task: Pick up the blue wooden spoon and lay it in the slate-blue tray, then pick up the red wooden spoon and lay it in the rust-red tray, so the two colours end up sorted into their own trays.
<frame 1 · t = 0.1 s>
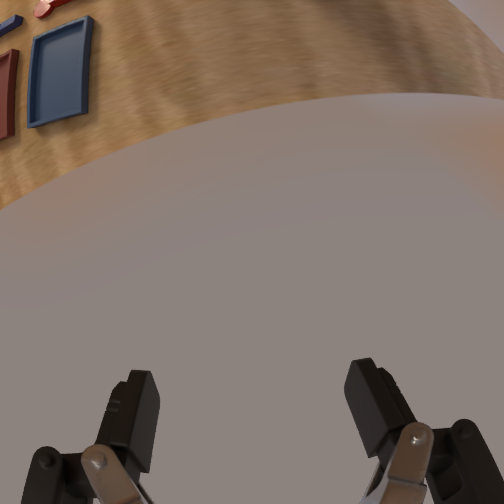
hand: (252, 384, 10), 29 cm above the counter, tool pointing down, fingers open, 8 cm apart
blue spoon: (1, 33, 21), on the counter
blue tray: (60, 72, 27), on the counter
red spoon: (60, 2, 21), on the counter
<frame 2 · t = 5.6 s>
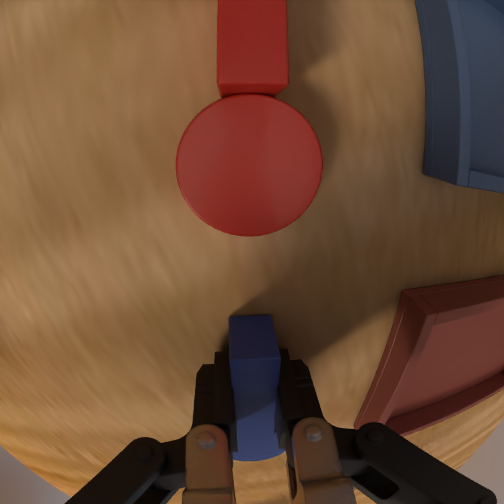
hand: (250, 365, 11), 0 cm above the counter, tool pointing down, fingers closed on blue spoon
blue spoon: (251, 402, 13), on the counter, touching gripper
red tray: (471, 346, 13), on the counter
red spoon: (247, 68, 7), on the counter
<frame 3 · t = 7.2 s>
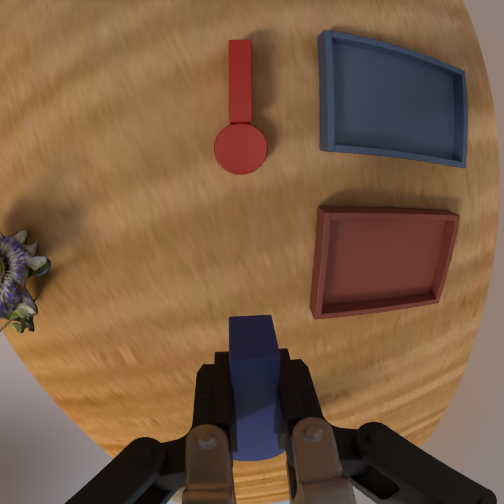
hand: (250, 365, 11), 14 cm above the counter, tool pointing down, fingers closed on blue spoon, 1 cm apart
blue spoon: (251, 402, 13), point 14 cm above the counter, touching gripper
blue tray: (398, 102, 20), on the counter
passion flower: (28, 269, 24), on the counter
red tray: (385, 257, 26), on the counter
red spoon: (239, 111, 20), on the counter
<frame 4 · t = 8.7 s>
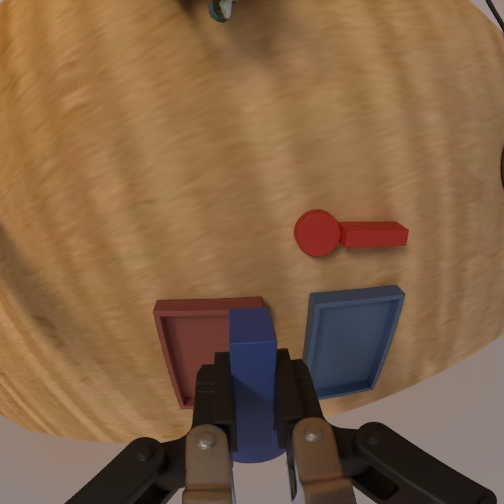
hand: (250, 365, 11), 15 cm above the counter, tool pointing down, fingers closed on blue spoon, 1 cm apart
blue spoon: (251, 399, 13), point 14 cm above the counter, touching gripper
blue tray: (345, 344, 31), on the counter
red tray: (214, 356, 30), on the counter
red spoon: (346, 230, 25), on the counter
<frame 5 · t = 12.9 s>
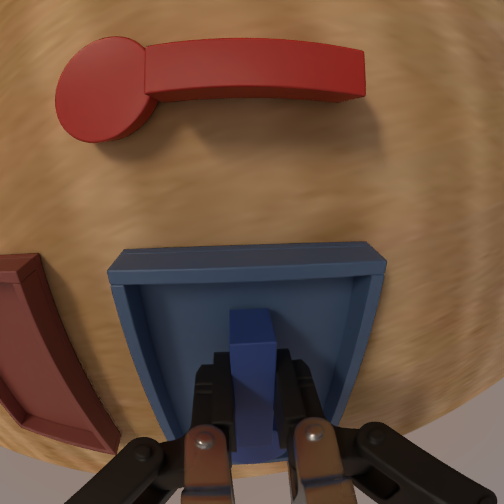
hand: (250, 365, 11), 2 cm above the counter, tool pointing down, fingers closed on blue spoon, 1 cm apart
blue spoon: (251, 400, 13), point 1 cm above the counter, tilted 5°, touching gripper
blue tray: (249, 377, 14), on the counter
red tray: (26, 359, 13), on the counter
red spoon: (189, 80, 9), on the counter
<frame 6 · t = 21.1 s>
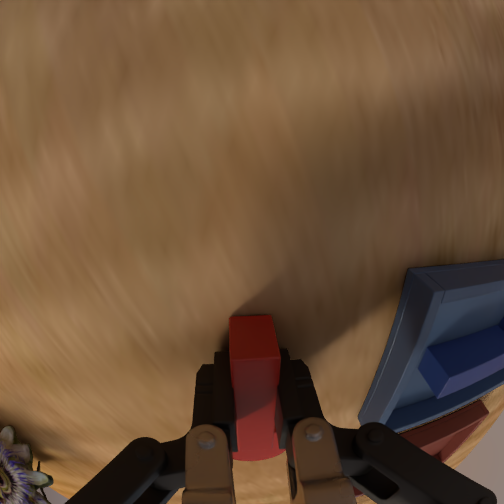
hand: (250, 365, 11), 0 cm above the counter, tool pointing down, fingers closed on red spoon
blue spoon: (484, 337, 12), resting on blue tray
blue tray: (477, 333, 13), on the counter
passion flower: (24, 444, 16), on the counter
red tray: (401, 453, 19), on the counter
red spoon: (251, 402, 13), on the counter, touching gripper
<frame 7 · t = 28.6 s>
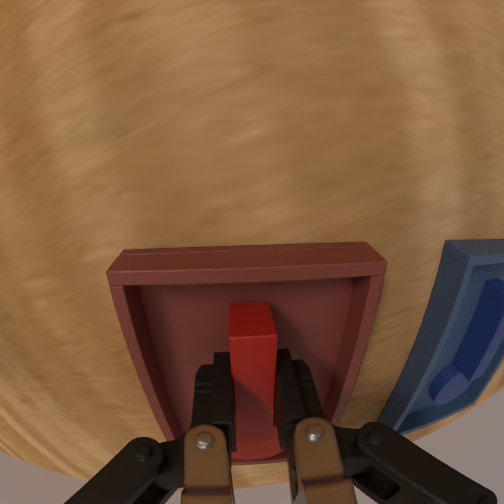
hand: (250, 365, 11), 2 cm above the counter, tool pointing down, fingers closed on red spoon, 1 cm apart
blue spoon: (464, 347, 15), resting on blue tray
blue tray: (462, 340, 15), on the counter
red tray: (249, 378, 14), on the counter
red spoon: (251, 395, 13), point 1 cm above the counter, touching gripper
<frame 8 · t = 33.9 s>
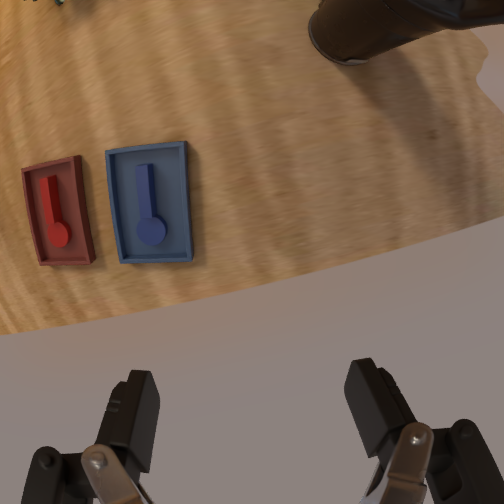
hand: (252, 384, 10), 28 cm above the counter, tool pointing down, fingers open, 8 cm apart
blue spoon: (150, 206, 35), resting on blue tray
blue tray: (151, 202, 35), on the counter
red tray: (59, 211, 34), on the counter
red spoon: (57, 212, 34), resting on red tray
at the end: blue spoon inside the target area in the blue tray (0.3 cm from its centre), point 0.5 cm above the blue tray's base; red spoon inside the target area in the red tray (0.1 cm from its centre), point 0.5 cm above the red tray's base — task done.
